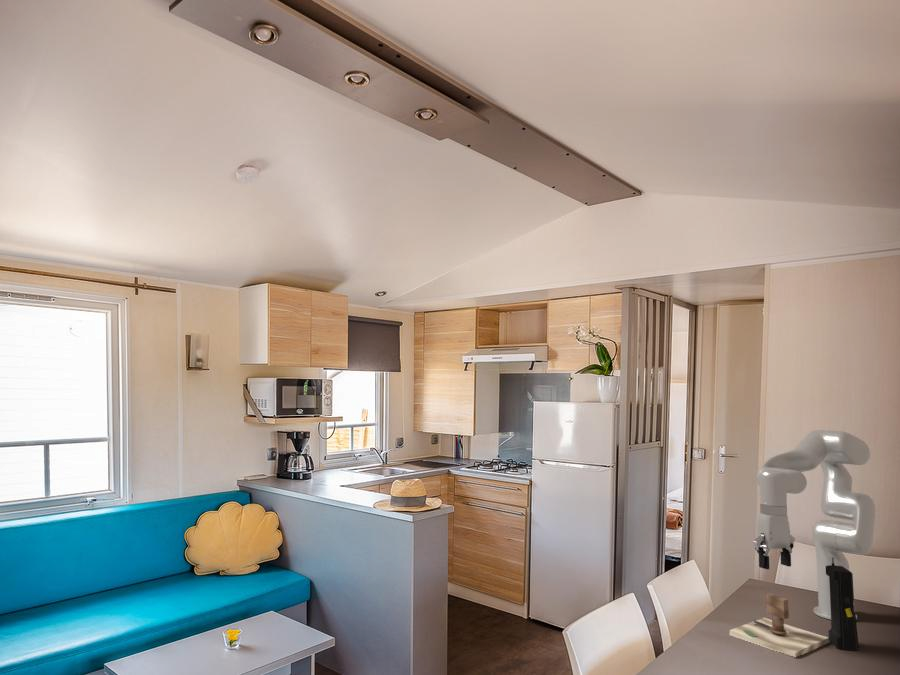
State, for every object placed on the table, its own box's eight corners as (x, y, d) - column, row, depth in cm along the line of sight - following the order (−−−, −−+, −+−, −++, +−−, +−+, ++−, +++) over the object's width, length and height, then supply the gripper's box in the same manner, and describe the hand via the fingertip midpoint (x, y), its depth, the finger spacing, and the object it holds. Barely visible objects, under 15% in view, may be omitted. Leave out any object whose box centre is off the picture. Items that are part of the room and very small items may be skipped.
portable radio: (861, 652, 180) (857, 564, 182) (839, 651, 181) (835, 563, 183) (850, 642, 187) (846, 558, 190) (828, 640, 189) (824, 556, 191)
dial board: (764, 622, 203) (763, 617, 204) (828, 642, 187) (828, 637, 187) (729, 635, 192) (729, 629, 192) (795, 658, 176) (795, 651, 176)
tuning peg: (792, 635, 188) (790, 599, 189) (782, 637, 186) (780, 600, 187) (759, 622, 198) (758, 588, 199) (749, 624, 196) (748, 589, 197)
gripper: (781, 507, 200) (783, 561, 198) (743, 510, 193) (745, 566, 191) (803, 511, 193) (805, 567, 191) (764, 514, 186) (766, 572, 184)
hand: (775, 566), depth 191 cm, fingers open, 9 cm apart
